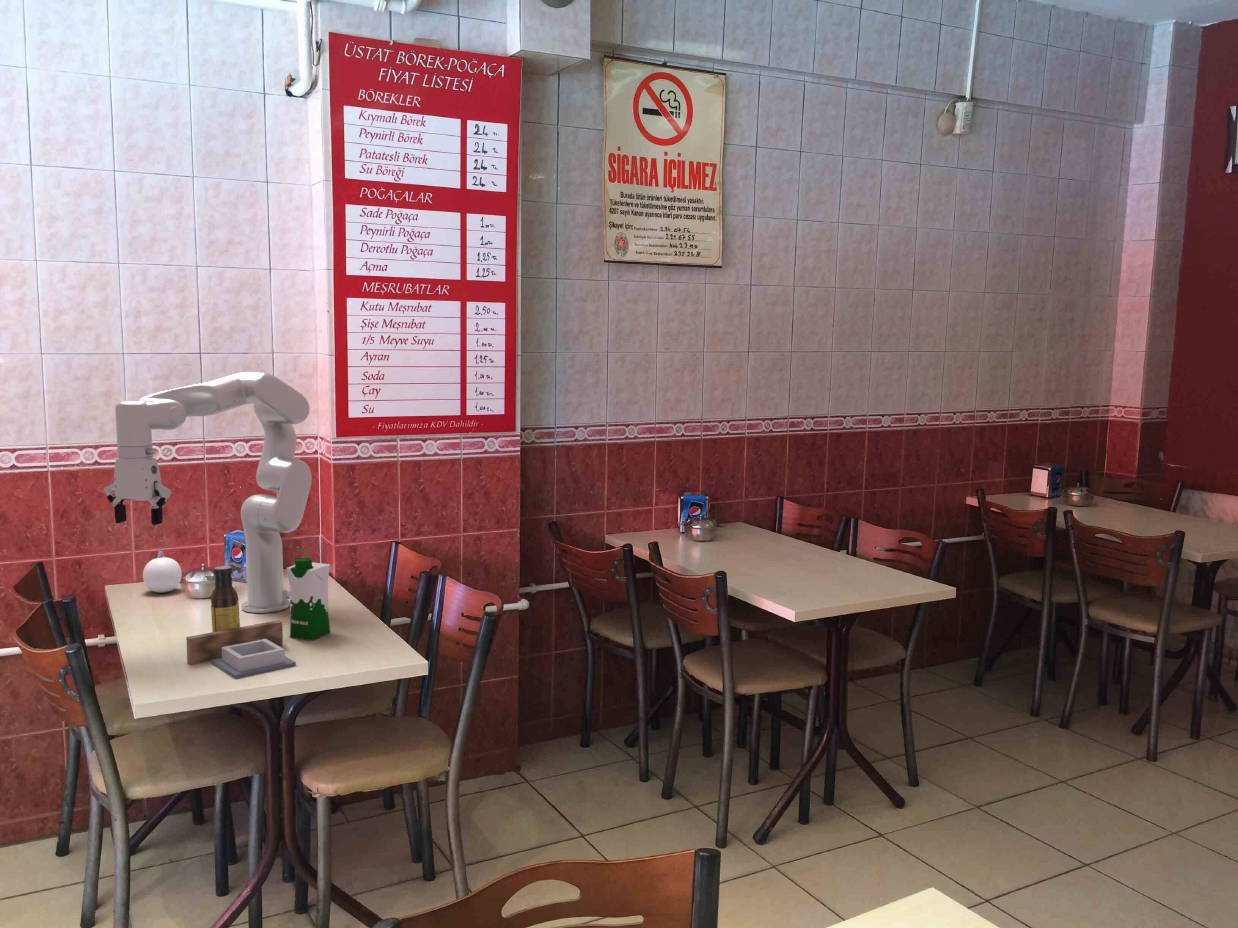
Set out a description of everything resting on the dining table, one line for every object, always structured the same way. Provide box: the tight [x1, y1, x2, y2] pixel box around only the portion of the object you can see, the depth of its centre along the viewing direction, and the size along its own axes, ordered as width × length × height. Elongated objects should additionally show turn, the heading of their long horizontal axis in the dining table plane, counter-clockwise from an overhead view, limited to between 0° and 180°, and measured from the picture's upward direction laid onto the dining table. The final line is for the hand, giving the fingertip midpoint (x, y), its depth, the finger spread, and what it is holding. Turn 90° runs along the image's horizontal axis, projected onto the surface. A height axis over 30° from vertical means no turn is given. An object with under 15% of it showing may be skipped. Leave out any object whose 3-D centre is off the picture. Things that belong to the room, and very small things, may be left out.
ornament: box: [142, 550, 183, 594], centre depth 291 cm, size 10×10×12 cm
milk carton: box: [286, 557, 331, 641], centre depth 251 cm, size 9×9×20 cm
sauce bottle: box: [210, 565, 241, 632], centre depth 240 cm, size 6×6×20 cm
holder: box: [210, 639, 297, 680], centre depth 229 cm, size 14×14×4 cm
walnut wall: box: [185, 619, 284, 665], centre depth 236 cm, size 22×2×6 cm, turn 132°
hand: (139, 523), depth 241 cm, fingers open, 9 cm apart
